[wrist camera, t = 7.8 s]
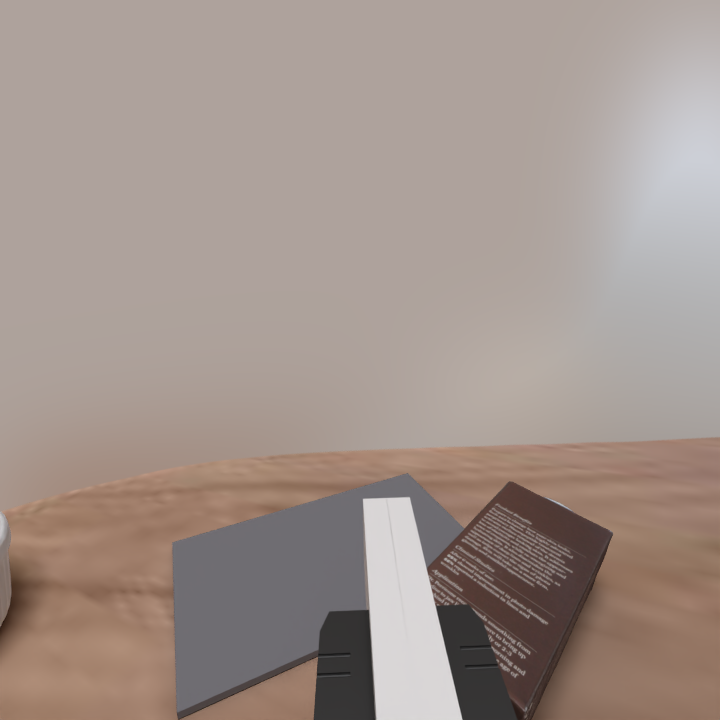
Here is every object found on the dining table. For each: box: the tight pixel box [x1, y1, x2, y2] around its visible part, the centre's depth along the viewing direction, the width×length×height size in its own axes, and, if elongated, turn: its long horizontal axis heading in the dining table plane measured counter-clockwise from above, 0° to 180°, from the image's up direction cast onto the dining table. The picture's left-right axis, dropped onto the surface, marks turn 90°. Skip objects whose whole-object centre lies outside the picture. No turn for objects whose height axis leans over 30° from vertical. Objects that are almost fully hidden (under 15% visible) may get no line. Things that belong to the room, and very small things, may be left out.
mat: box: [172, 473, 464, 719], centre depth 26 cm, size 18×11×1 cm, turn 115°
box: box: [427, 482, 613, 720], centre depth 20 cm, size 6×4×12 cm
